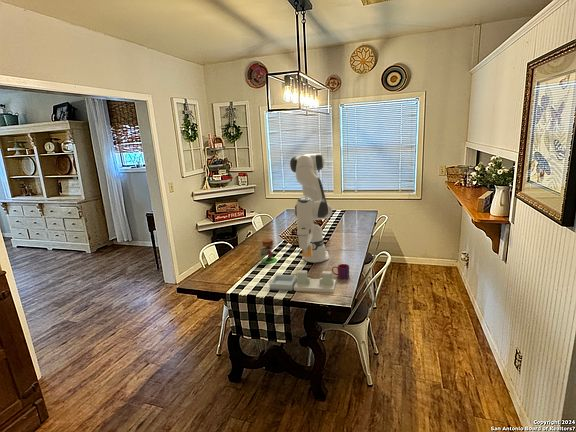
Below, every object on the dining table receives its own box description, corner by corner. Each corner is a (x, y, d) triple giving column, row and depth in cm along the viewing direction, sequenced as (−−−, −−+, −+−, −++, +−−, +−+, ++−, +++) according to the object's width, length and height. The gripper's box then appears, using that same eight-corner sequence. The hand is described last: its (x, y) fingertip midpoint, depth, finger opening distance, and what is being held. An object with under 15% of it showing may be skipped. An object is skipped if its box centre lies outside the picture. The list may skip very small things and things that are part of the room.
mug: (348, 279, 188) (348, 268, 187) (331, 278, 192) (331, 267, 190) (350, 274, 194) (349, 264, 193) (333, 273, 198) (333, 263, 196)
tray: (276, 279, 195) (275, 274, 194) (297, 280, 191) (296, 275, 191) (269, 289, 182) (269, 284, 182) (292, 290, 179) (291, 285, 178)
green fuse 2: (323, 282, 182) (322, 271, 180) (332, 283, 181) (331, 271, 179) (322, 285, 179) (322, 273, 178) (331, 285, 178) (331, 273, 176)
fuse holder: (298, 281, 191) (298, 273, 189) (335, 282, 185) (335, 274, 184) (293, 290, 179) (293, 282, 178) (333, 292, 174) (333, 284, 173)
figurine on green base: (280, 257, 231) (278, 237, 228) (274, 264, 219) (272, 243, 216) (264, 256, 234) (262, 237, 231) (258, 263, 223) (256, 242, 219)
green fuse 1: (299, 281, 186) (298, 270, 184) (307, 281, 184) (307, 270, 183) (298, 283, 183) (297, 272, 181) (306, 284, 181) (306, 272, 180)
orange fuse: (303, 254, 181) (302, 243, 179) (312, 255, 180) (311, 243, 178) (302, 256, 178) (301, 244, 176) (311, 257, 177) (310, 244, 175)
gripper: (303, 222, 186) (304, 245, 189) (296, 232, 166) (297, 258, 170) (314, 222, 184) (315, 245, 187) (308, 232, 165) (309, 258, 168)
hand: (307, 251), depth 178 cm, fingers closed on orange fuse, 3 cm apart
